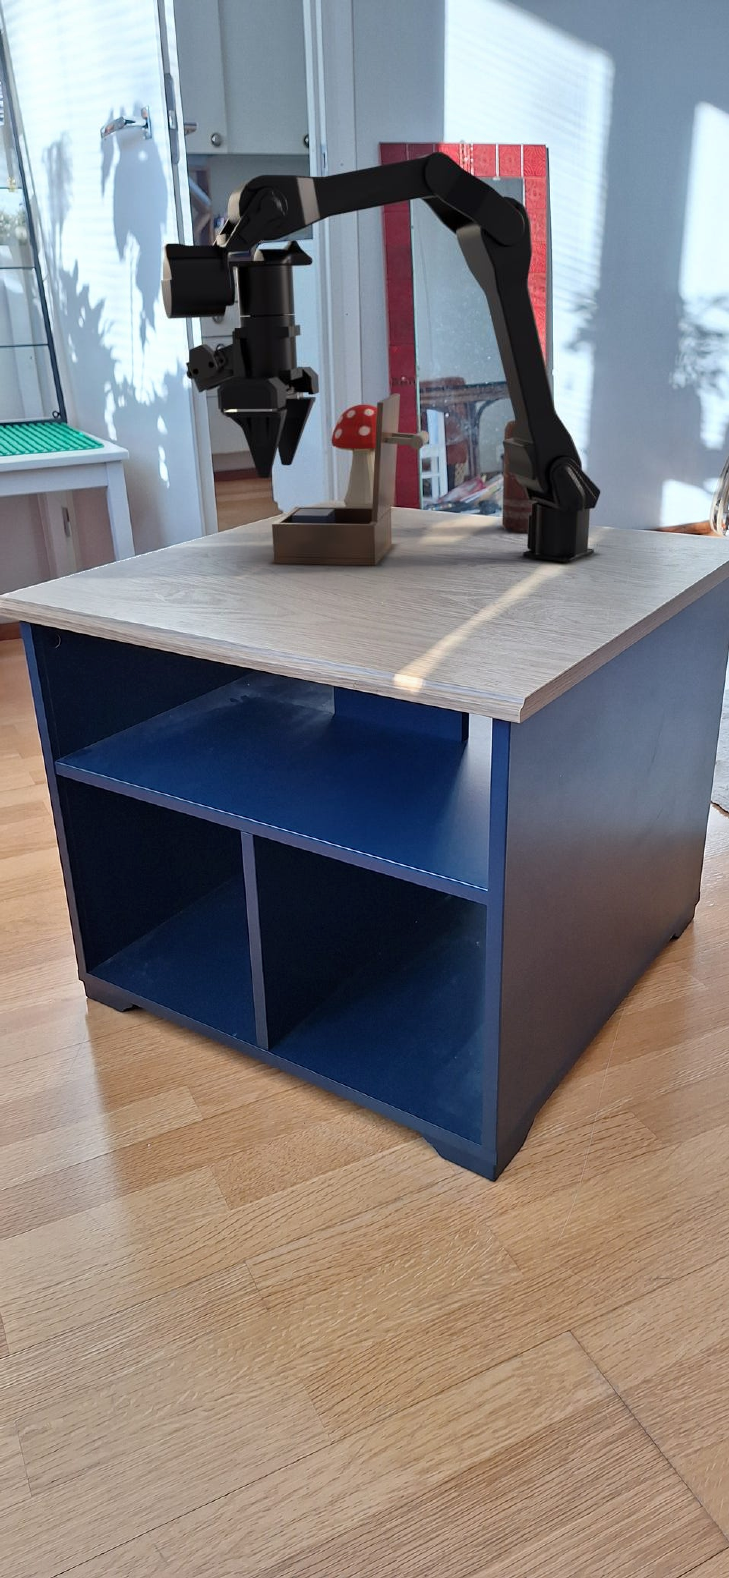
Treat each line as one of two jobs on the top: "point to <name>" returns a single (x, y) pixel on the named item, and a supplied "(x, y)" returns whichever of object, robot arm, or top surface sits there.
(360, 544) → the chest
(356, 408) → the decorative mushroom
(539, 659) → the top surface
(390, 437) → the lid
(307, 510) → the block
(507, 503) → the can
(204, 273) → the robot arm
